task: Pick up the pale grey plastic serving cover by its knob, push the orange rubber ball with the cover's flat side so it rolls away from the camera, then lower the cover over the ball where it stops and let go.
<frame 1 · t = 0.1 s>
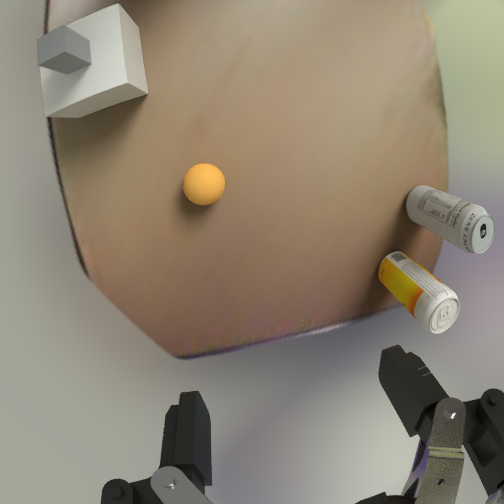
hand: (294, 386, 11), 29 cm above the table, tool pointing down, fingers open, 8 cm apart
ball: (203, 184, 34), on the table
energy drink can: (417, 202, 40), on the table
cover: (106, 71, 29), on the table
yellow white cylinder: (391, 266, 44), on the table
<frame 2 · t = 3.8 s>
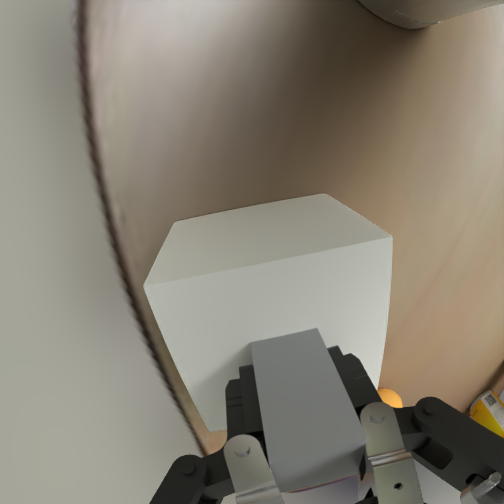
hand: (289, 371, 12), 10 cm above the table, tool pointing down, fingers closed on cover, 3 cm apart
ball: (380, 410, 26), on the table
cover: (262, 275, 21), on the table, touching gripper
yellow white cylinder: (479, 399, 36), on the table
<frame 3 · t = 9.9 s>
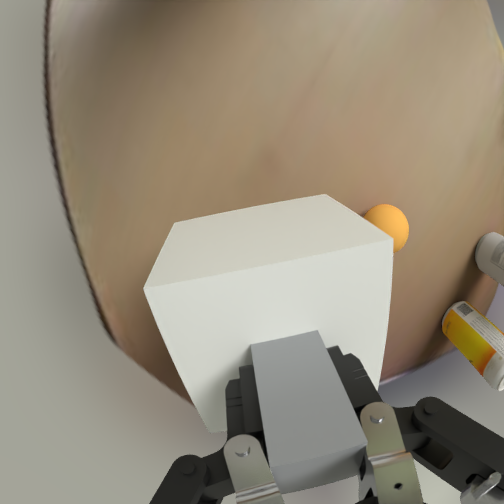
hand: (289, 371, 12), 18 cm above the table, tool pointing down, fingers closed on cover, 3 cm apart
ball: (384, 229, 27), on the table
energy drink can: (484, 249, 33), on the table
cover: (262, 276, 21), point 8 cm above the table, touching gripper
yellow white cylinder: (453, 315, 36), on the table
when the fingers open (10 cm above the table, at t = 15.2 s): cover stays where it is, on the table.
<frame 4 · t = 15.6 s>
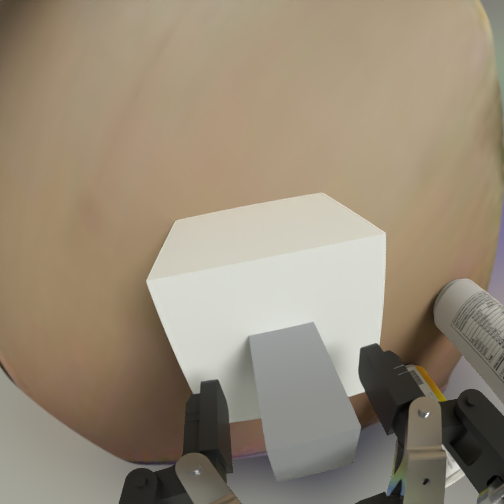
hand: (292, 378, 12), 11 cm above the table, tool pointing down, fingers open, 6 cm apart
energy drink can: (449, 299, 25), on the table
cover: (261, 272, 22), on the table
yellow white cylinder: (399, 379, 29), on the table
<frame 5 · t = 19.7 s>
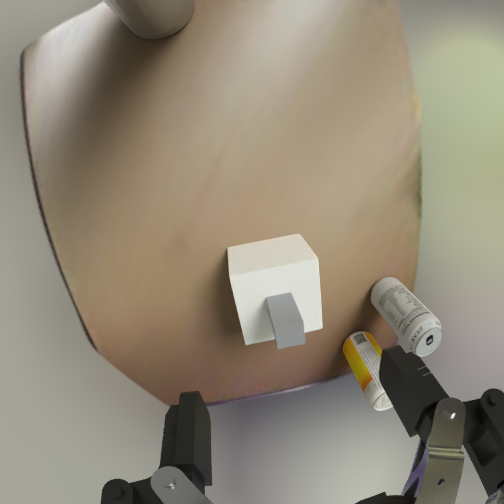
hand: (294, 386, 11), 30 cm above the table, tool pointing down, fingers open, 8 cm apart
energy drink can: (383, 289, 47), on the table
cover: (269, 272, 43), on the table
yellow white cylinder: (355, 341, 51), on the table
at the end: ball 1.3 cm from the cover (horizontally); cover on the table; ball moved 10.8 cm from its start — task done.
